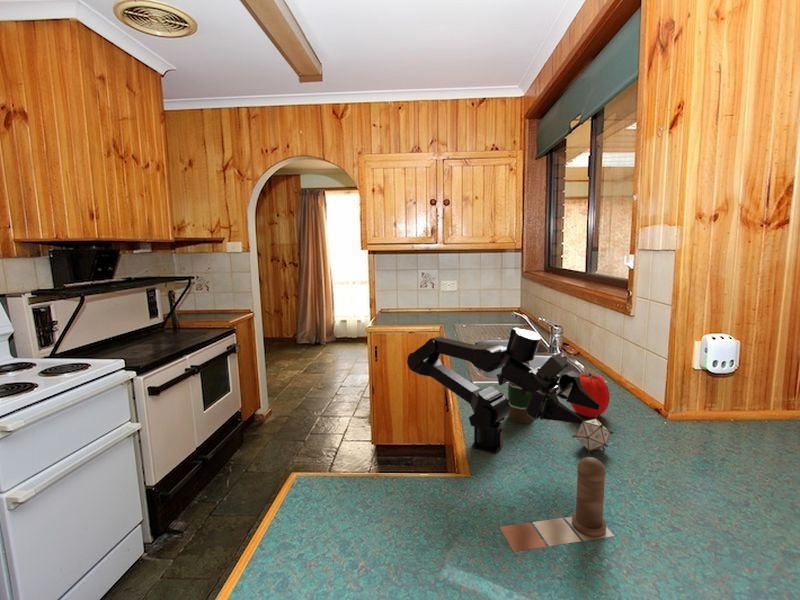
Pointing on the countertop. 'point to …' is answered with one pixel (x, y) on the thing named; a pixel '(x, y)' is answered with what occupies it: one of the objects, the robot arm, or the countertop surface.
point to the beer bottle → (518, 404)
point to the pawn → (590, 498)
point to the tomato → (593, 394)
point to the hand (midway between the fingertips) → (591, 414)
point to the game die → (592, 434)
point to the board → (544, 534)
